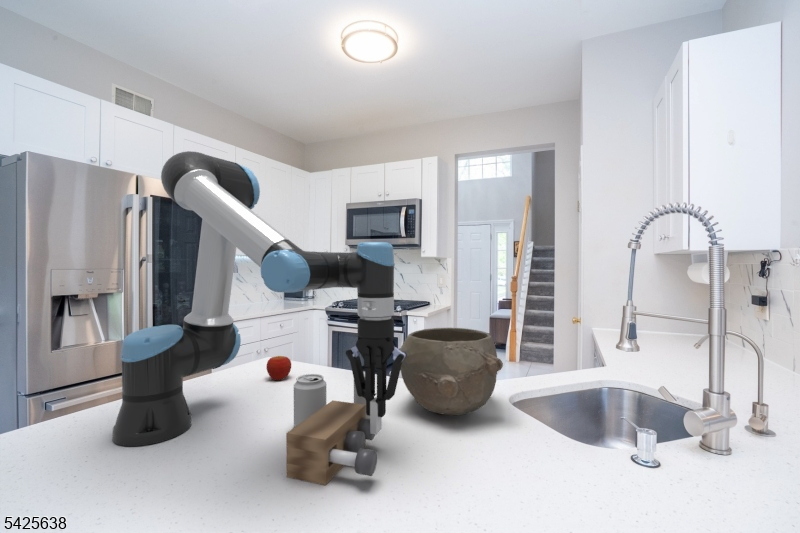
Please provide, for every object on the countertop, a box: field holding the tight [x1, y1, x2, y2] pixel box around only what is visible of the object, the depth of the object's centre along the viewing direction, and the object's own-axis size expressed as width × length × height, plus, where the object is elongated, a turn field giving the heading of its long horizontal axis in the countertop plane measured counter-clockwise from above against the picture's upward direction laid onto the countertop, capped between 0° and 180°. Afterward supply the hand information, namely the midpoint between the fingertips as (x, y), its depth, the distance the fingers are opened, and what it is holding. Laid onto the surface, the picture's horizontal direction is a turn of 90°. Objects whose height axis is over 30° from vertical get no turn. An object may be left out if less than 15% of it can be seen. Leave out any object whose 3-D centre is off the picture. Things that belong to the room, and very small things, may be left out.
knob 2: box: [329, 447, 378, 477], centre depth 68 cm, size 11×4×4 cm, turn 71°
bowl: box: [398, 327, 504, 416], centre depth 101 cm, size 27×29×20 cm
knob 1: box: [344, 430, 366, 453], centre depth 75 cm, size 11×4×4 cm, turn 71°
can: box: [293, 373, 327, 428], centre depth 89 cm, size 8×8×12 cm
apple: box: [266, 355, 292, 381], centre depth 126 cm, size 8×8×8 cm
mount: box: [285, 399, 367, 486], centre depth 75 cm, size 8×17×8 cm, turn 161°
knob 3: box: [358, 418, 376, 441], centre depth 81 cm, size 11×4×4 cm, turn 71°
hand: (375, 431), depth 79 cm, fingers closed
